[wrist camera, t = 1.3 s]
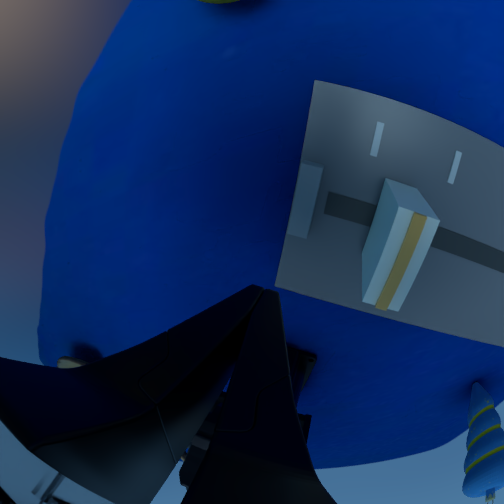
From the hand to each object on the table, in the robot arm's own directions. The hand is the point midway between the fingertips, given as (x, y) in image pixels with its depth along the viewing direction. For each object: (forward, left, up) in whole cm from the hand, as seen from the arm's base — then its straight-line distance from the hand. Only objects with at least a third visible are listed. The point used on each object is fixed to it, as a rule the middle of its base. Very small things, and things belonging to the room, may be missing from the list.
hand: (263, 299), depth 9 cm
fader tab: (0, -5, -10) cm, 11 cm away
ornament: (-14, -23, -12) cm, 30 cm away
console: (0, -11, -12) cm, 16 cm away
